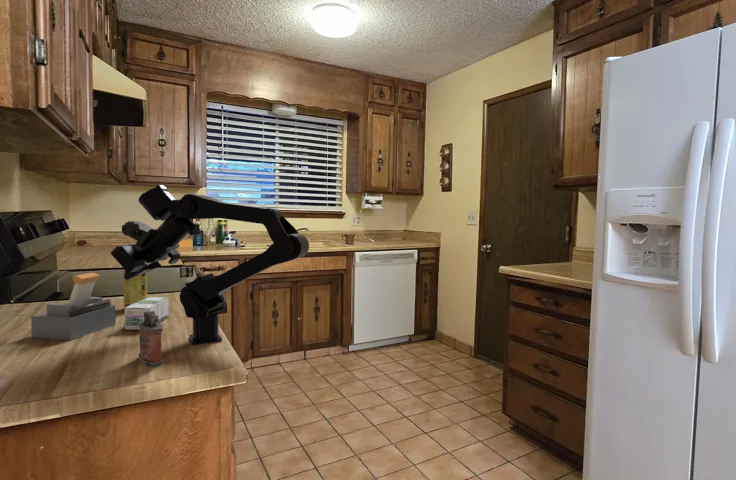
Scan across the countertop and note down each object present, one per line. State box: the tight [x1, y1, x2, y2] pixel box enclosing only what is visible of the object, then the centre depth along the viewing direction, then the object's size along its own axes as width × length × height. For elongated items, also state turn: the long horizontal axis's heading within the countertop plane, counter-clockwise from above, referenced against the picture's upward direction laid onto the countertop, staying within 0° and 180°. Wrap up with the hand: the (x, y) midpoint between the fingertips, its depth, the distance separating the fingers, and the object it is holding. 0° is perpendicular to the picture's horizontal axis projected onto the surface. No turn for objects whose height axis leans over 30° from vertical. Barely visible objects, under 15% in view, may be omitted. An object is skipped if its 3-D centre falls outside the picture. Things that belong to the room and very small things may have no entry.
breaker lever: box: [67, 272, 101, 308], centre depth 100 cm, size 2×6×9 cm, turn 174°
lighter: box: [138, 311, 163, 368], centre depth 82 cm, size 8×3×10 cm, turn 45°
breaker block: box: [30, 296, 116, 341], centre depth 100 cm, size 10×14×7 cm
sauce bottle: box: [123, 243, 148, 309], centre depth 124 cm, size 7×6×20 cm
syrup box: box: [124, 296, 170, 331], centre depth 109 cm, size 6×6×14 cm
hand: (125, 278), depth 99 cm, fingers closed
